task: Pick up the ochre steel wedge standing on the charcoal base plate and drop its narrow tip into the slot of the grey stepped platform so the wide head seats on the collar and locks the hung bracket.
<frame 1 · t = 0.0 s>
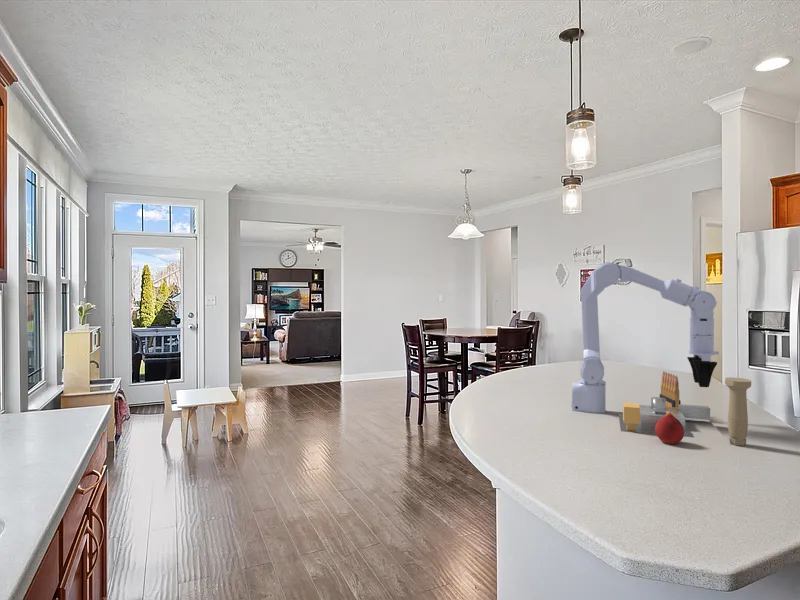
hand: (701, 384, 143), 10 cm above the countertop, tool pointing down, fingers open, 7 cm apart
grey stepped platform: (661, 428, 136), on the countertop
handle: (737, 445, 122), on the countertop
ammunition clip: (669, 415, 153), on the countertop
onion: (669, 447, 119), on the countertop
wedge: (631, 429, 131), point 1 cm above the countertop, touching grey stepped platform
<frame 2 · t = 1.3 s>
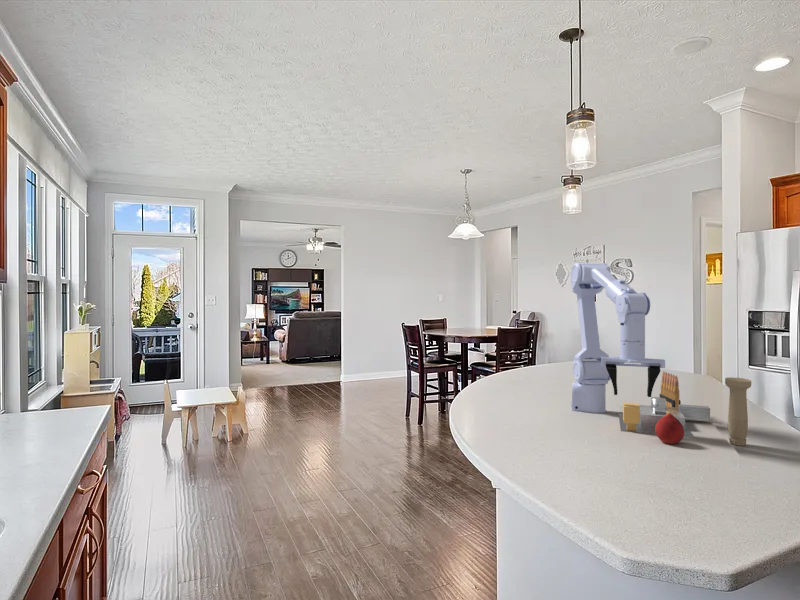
hand: (632, 395, 132), 9 cm above the countertop, tool pointing down, fingers open, 7 cm apart
nothing on the countertop moved.
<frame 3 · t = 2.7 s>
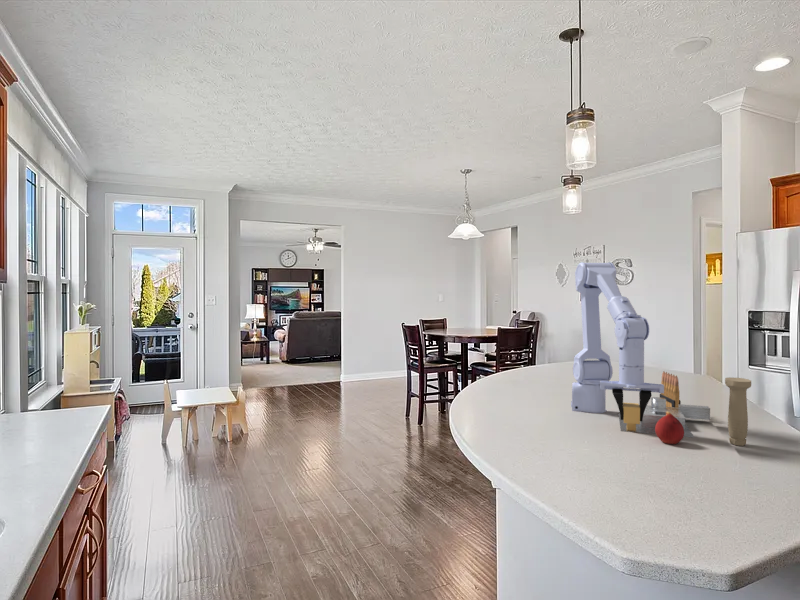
hand: (631, 419, 131), 3 cm above the countertop, tool pointing down, fingers closed on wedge, 4 cm apart
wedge: (631, 429, 131), point 1 cm above the countertop, touching gripper, grey stepped platform
everything else where it was.
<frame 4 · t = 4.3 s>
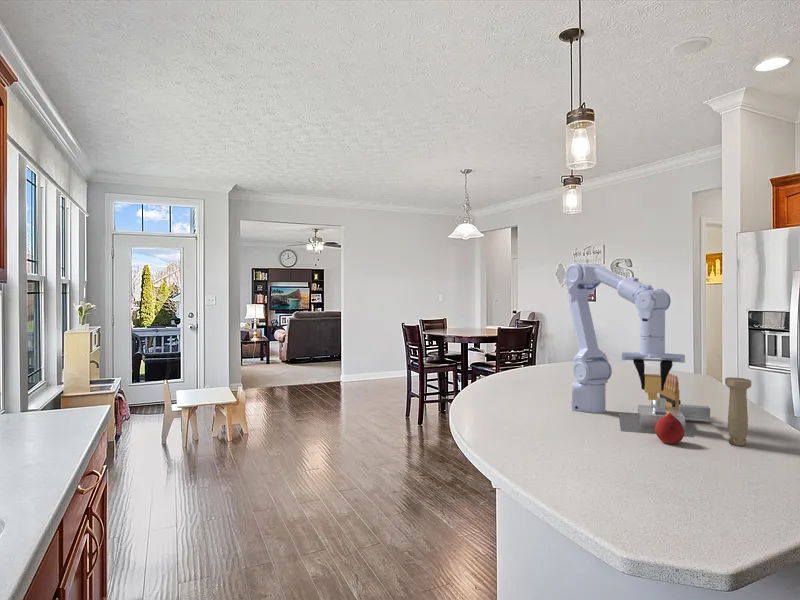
hand: (652, 389, 134), 10 cm above the countertop, tool pointing down, fingers closed on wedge, 4 cm apart
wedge: (652, 398, 134), point 8 cm above the countertop, touching gripper
everything else where it was.
when the fingers open (6 cm above the countertop, at t = 6.0 s): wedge drops 1 cm, resting on grey stepped platform.
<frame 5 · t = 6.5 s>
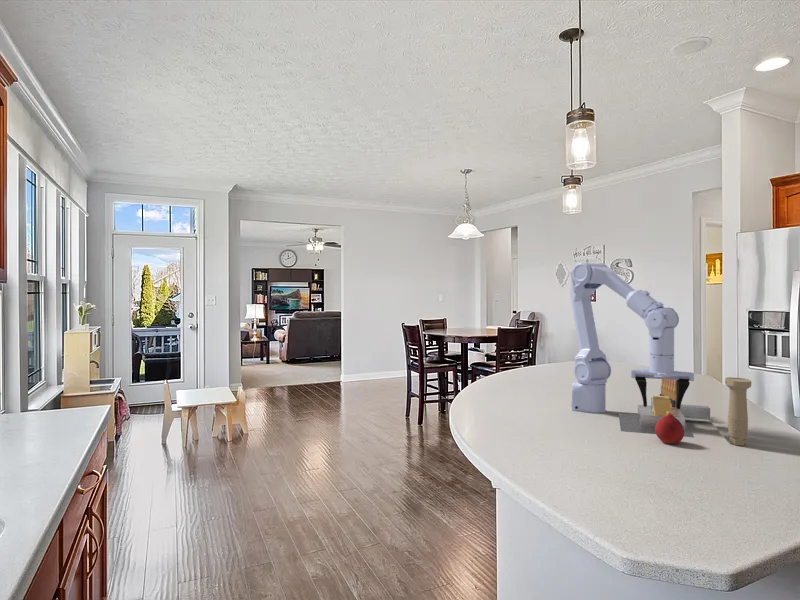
hand: (661, 407, 136), 6 cm above the countertop, tool pointing down, fingers open, 7 cm apart
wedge: (661, 421, 136), point 2 cm above the countertop, touching grey stepped platform
everything else where it was.
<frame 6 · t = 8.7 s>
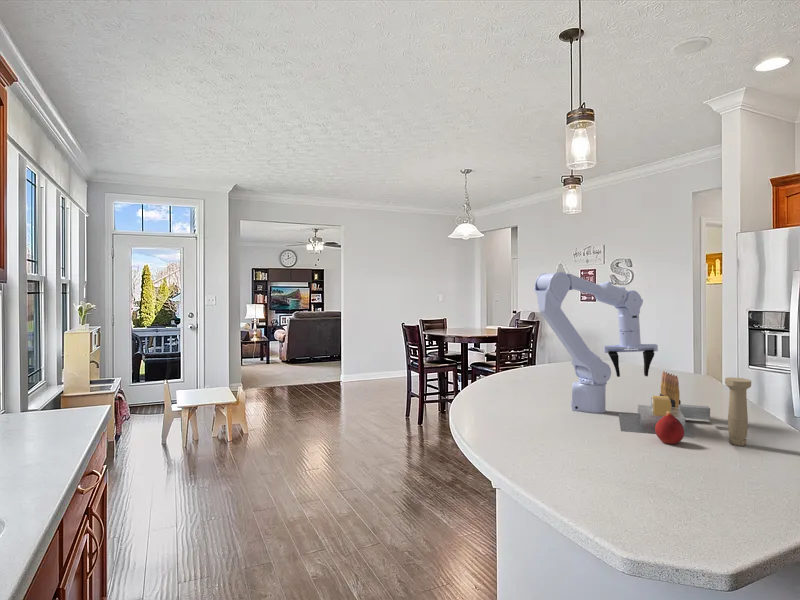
hand: (632, 376, 157), 10 cm above the countertop, tool pointing down, fingers open, 7 cm apart
nothing on the countertop moved.
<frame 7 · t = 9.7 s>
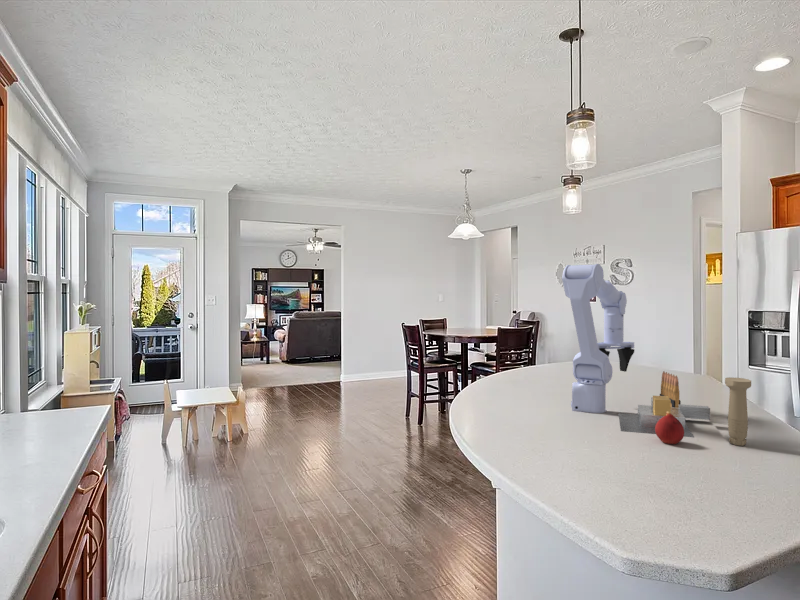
hand: (613, 371, 166), 10 cm above the countertop, tool pointing down, fingers open, 7 cm apart
nothing on the countertop moved.
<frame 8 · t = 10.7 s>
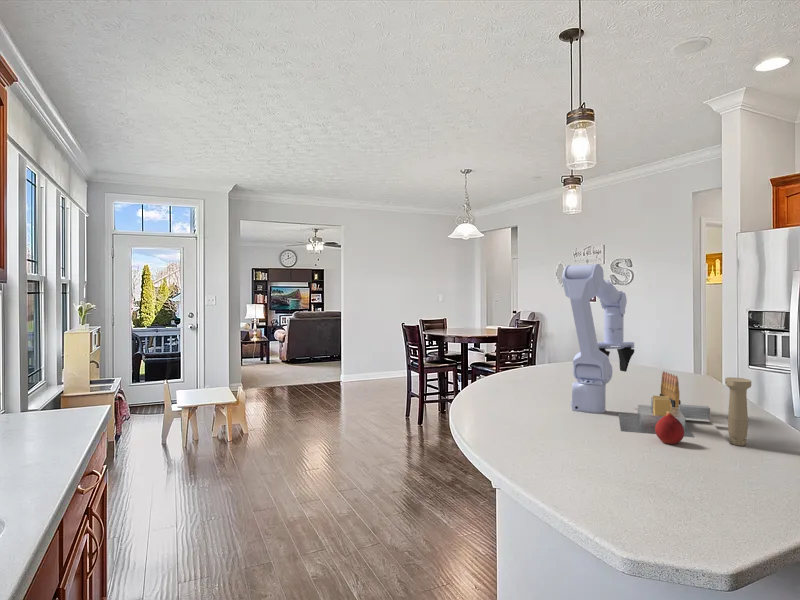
hand: (613, 371, 166), 10 cm above the countertop, tool pointing down, fingers open, 7 cm apart
nothing on the countertop moved.
at the end: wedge 0.1 cm off-centre on the grey stepped platform, point 2.0 cm above the grey stepped platform's base; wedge tilted 0°; the gripper is holding nothing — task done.
